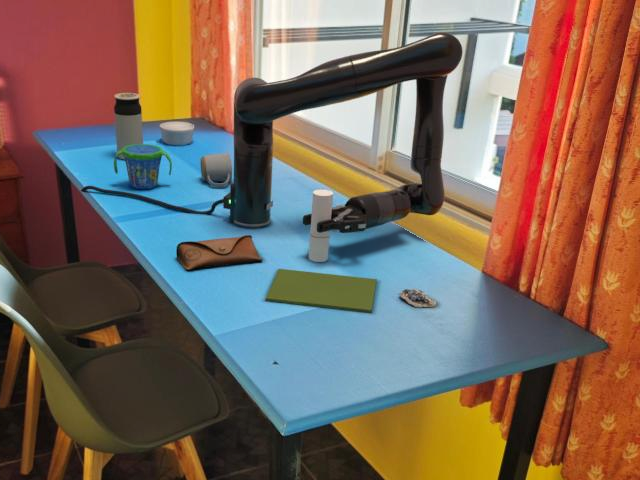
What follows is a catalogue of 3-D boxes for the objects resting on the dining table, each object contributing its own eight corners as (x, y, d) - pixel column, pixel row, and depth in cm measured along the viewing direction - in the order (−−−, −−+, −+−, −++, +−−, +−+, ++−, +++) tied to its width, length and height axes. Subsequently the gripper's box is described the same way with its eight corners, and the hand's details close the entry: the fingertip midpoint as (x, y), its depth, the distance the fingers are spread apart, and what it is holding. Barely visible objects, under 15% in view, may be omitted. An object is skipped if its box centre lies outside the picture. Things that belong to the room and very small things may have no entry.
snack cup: (175, 181, 217) (174, 144, 211) (169, 193, 208) (167, 155, 202) (120, 178, 217) (117, 142, 212) (111, 190, 208) (109, 152, 203)
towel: (265, 300, 154) (265, 298, 153) (278, 271, 166) (278, 268, 166) (371, 312, 150) (371, 310, 150) (376, 281, 163) (376, 279, 163)
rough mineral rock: (409, 289, 160) (410, 280, 159) (444, 300, 156) (445, 292, 155) (392, 299, 156) (393, 291, 155) (427, 311, 152) (429, 303, 150)
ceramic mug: (199, 177, 220) (199, 150, 216) (227, 176, 222) (228, 149, 218) (206, 189, 212) (205, 161, 207) (235, 188, 213) (235, 160, 209)
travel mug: (149, 156, 237) (146, 95, 227) (132, 162, 231) (128, 99, 221) (129, 151, 240) (125, 91, 231) (112, 157, 235) (107, 95, 225)
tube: (326, 262, 171) (331, 196, 163) (307, 260, 171) (311, 194, 163) (328, 255, 174) (334, 190, 166) (310, 253, 175) (314, 188, 167)
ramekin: (193, 147, 247) (192, 130, 244) (158, 146, 247) (157, 129, 244) (195, 138, 256) (195, 121, 254) (162, 137, 256) (161, 120, 254)
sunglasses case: (187, 270, 164) (182, 238, 163) (179, 274, 170) (174, 244, 170) (265, 260, 170) (260, 229, 169) (255, 264, 176) (250, 235, 176)
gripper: (351, 185, 178) (291, 197, 170) (393, 203, 168) (333, 217, 160) (348, 217, 182) (290, 230, 174) (389, 236, 172) (330, 251, 164)
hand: (311, 224), depth 167 cm, fingers closed on tube, 4 cm apart
